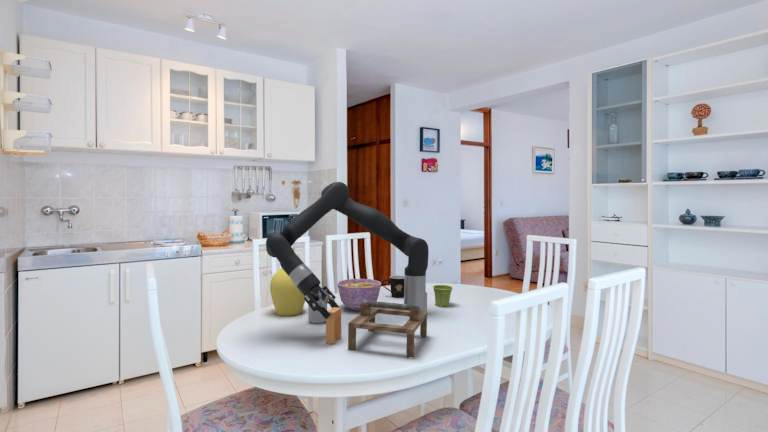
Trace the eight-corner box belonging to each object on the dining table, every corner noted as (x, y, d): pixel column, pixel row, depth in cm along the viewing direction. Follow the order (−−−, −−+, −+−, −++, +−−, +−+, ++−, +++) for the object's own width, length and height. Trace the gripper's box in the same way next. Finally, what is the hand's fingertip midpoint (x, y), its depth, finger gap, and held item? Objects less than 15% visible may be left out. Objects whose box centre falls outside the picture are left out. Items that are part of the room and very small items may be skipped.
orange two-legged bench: (325, 343, 146) (326, 311, 145) (333, 337, 152) (333, 307, 151) (333, 344, 145) (334, 312, 144) (341, 338, 151) (341, 307, 150)
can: (323, 324, 166) (323, 294, 165) (305, 323, 168) (305, 293, 167) (329, 319, 173) (329, 290, 173) (312, 318, 175) (312, 289, 174)
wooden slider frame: (348, 349, 140) (348, 307, 139) (370, 329, 161) (370, 293, 160) (412, 357, 133) (413, 314, 133) (426, 336, 154) (427, 298, 154)
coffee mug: (408, 295, 216) (408, 276, 216) (403, 299, 208) (403, 279, 208) (386, 293, 220) (387, 274, 220) (381, 297, 212) (381, 277, 212)
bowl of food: (384, 303, 199) (385, 279, 199) (376, 315, 180) (376, 288, 179) (343, 301, 203) (343, 277, 202) (331, 312, 183) (331, 286, 182)
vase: (273, 319, 172) (273, 251, 171) (267, 309, 187) (267, 246, 185) (311, 315, 179) (312, 249, 177) (303, 306, 193) (303, 245, 192)
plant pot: (455, 304, 199) (455, 286, 199) (447, 309, 192) (447, 290, 191) (437, 301, 204) (437, 284, 204) (428, 305, 197) (429, 287, 196)
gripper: (301, 276, 143) (332, 312, 140) (320, 269, 157) (348, 302, 154) (287, 290, 145) (317, 326, 142) (307, 282, 158) (335, 315, 156)
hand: (333, 314), depth 148 cm, fingers open, 8 cm apart
